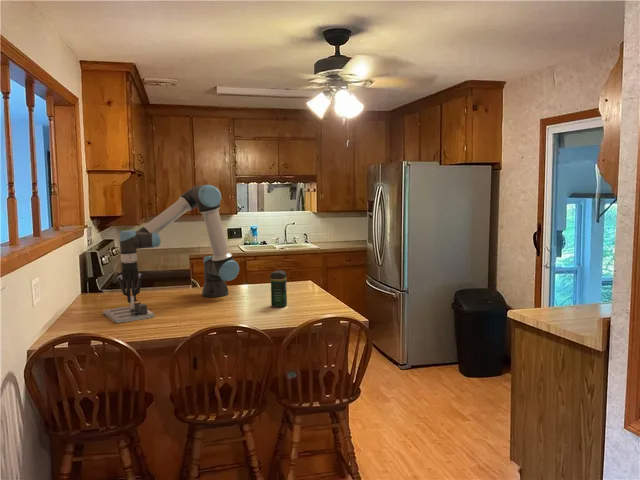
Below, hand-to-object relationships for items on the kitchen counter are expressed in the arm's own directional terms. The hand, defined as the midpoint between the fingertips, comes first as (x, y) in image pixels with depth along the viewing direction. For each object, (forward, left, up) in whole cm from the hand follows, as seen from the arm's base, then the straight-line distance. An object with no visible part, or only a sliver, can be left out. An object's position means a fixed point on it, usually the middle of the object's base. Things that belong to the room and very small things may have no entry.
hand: (132, 308), depth 255 cm
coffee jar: (+34, +65, -4) cm, 74 cm away
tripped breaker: (0, +2, -1) cm, 3 cm away
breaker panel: (0, -2, -3) cm, 4 cm away
